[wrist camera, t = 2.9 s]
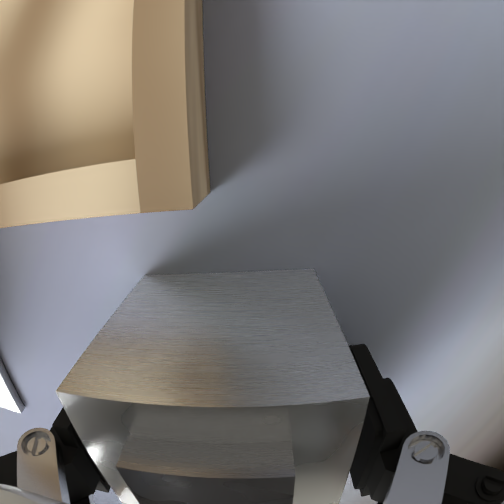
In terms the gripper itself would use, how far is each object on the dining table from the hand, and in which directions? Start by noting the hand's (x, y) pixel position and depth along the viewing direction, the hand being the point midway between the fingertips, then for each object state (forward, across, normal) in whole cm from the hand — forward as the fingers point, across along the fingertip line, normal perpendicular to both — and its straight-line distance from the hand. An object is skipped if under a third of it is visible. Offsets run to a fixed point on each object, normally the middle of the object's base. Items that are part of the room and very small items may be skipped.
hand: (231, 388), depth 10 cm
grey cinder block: (+1, 0, 0) cm, 1 cm away
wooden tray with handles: (+1, +6, -17) cm, 18 cm away
